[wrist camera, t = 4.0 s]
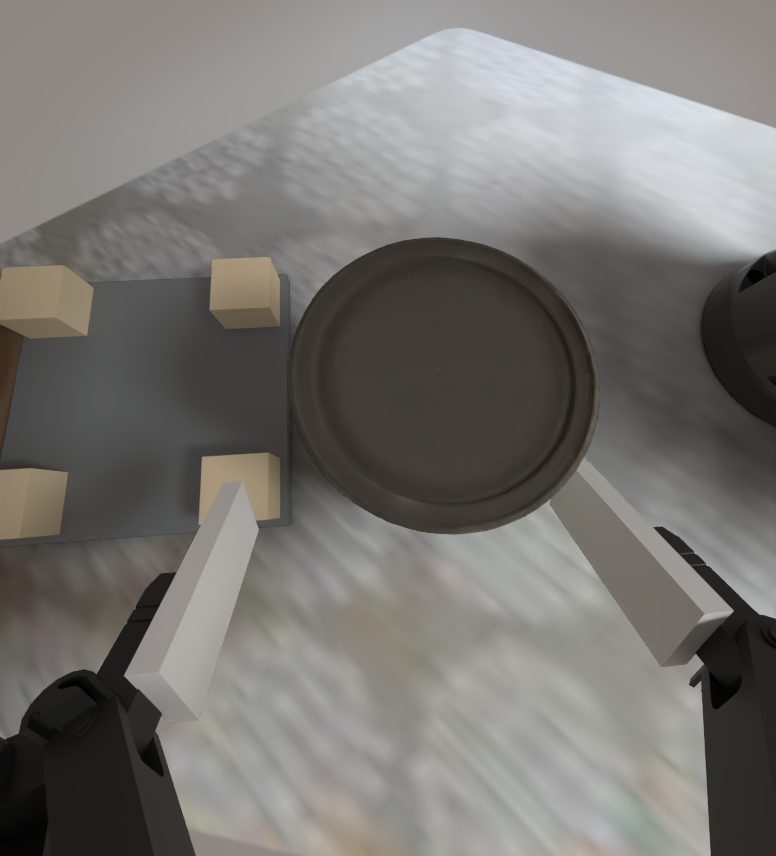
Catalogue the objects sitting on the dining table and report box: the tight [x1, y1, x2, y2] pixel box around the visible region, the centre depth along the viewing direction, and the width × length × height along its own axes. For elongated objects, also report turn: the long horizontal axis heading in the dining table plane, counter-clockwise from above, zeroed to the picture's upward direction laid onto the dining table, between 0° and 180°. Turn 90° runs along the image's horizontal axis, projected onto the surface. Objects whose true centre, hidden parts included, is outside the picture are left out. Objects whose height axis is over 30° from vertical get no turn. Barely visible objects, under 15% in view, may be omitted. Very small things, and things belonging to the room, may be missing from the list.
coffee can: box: [288, 237, 600, 534], centre depth 18 cm, size 10×10×14 cm
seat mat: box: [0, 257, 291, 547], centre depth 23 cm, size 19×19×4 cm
